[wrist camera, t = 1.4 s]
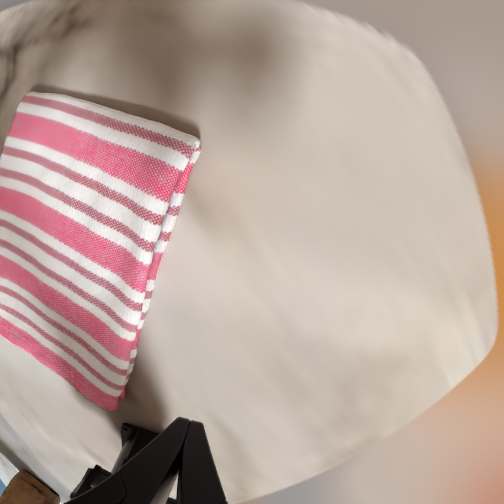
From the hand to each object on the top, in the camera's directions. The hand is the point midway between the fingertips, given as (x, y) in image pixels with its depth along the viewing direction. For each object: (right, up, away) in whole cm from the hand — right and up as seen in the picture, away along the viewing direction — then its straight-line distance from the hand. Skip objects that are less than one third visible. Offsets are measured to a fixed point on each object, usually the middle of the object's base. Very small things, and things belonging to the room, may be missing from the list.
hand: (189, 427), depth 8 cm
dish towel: (-13, +6, +12) cm, 18 cm away
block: (-41, -41, +22) cm, 62 cm away
